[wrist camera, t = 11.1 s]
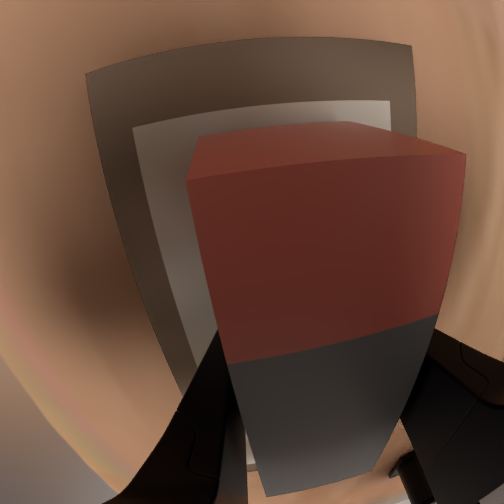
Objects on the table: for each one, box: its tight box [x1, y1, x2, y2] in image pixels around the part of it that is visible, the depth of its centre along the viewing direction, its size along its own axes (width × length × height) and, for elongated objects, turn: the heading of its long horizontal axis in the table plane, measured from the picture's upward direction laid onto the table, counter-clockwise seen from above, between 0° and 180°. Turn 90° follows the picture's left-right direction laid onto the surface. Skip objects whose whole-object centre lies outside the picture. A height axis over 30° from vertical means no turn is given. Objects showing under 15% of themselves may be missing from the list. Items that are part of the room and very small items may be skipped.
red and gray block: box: [186, 121, 466, 497], centre depth 8 cm, size 11×4×4 cm, turn 7°
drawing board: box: [85, 37, 417, 472], centre depth 13 cm, size 24×10×1 cm, turn 7°
